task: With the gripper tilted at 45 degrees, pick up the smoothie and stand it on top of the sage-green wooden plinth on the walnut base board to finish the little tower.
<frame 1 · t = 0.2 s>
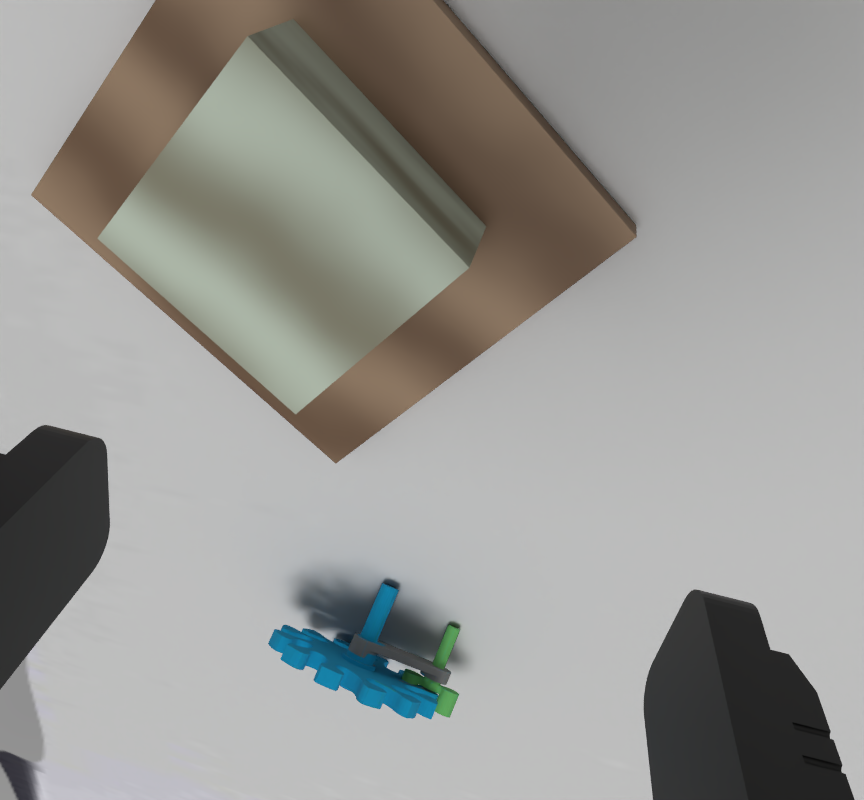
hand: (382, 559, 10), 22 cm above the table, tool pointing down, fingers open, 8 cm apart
blue knobby piece: (382, 617, 45), on the table
plinth: (321, 204, 31), on the table
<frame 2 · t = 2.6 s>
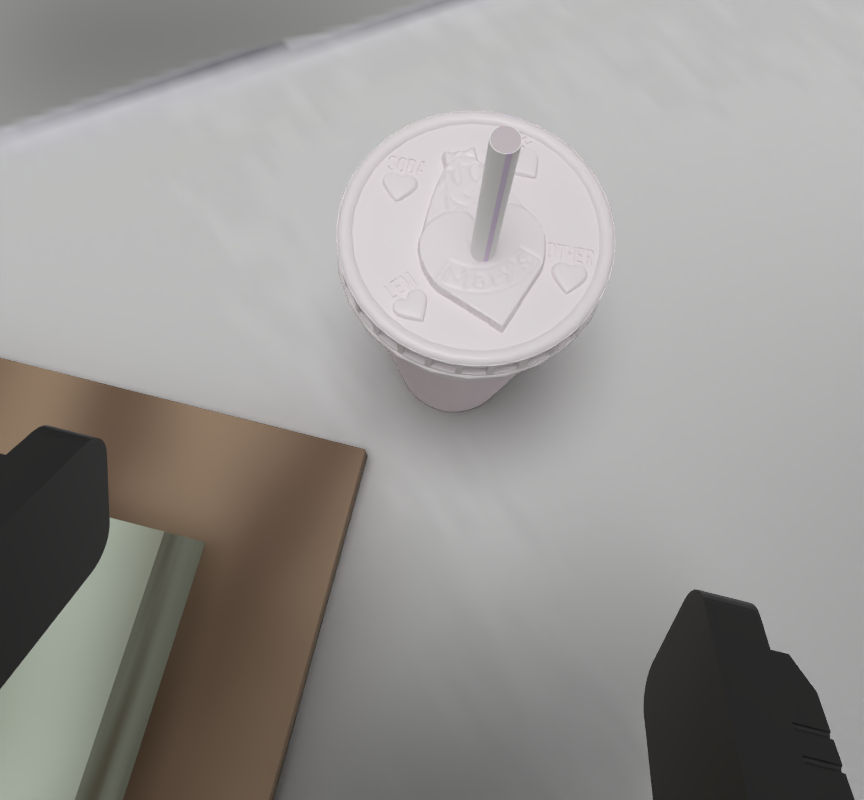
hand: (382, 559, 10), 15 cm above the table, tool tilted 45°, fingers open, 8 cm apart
smoothie: (453, 361, 26), on the table
plinth: (9, 663, 23), on the table
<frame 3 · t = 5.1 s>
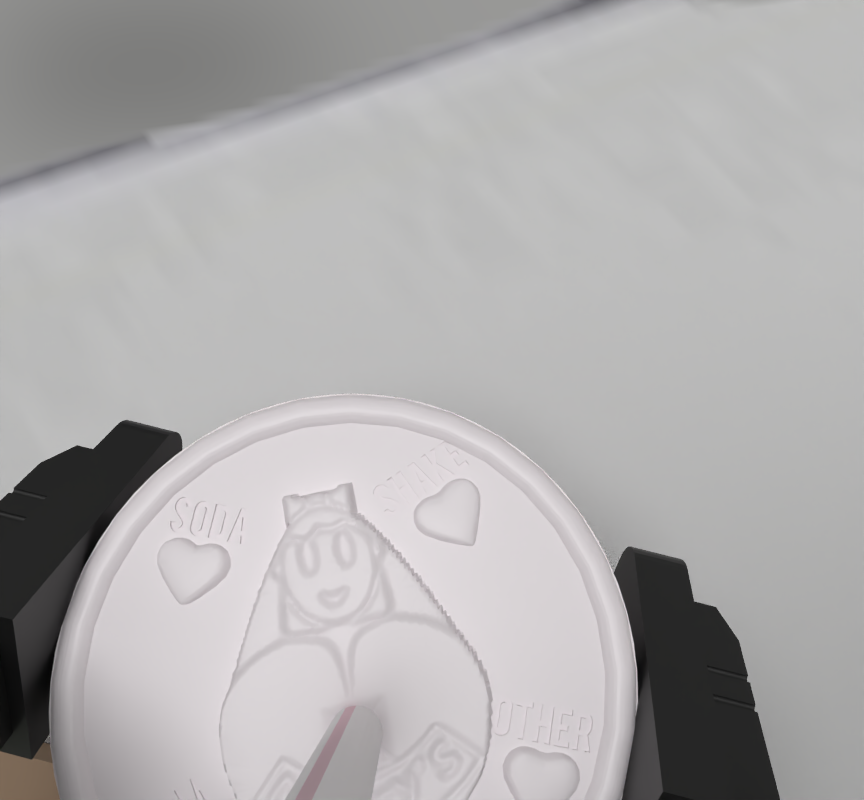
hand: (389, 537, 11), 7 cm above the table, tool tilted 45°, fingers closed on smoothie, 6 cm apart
smoothie: (380, 631, 18), on the table, touching gripper
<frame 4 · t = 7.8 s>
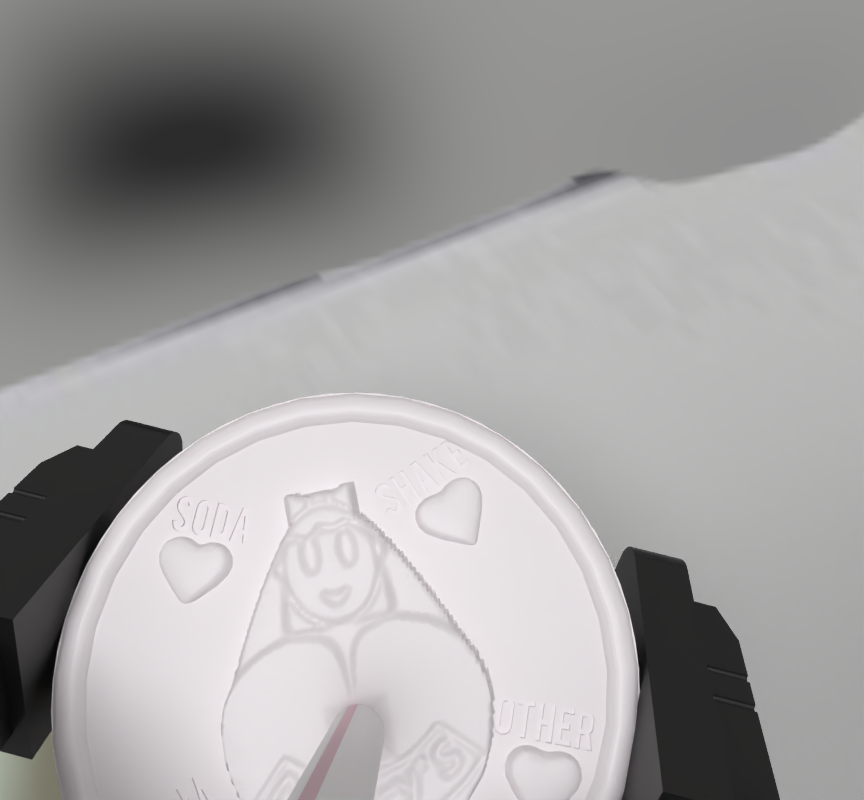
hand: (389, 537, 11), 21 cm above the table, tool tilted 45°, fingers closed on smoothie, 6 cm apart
smoothie: (381, 630, 18), point 14 cm above the table, touching gripper
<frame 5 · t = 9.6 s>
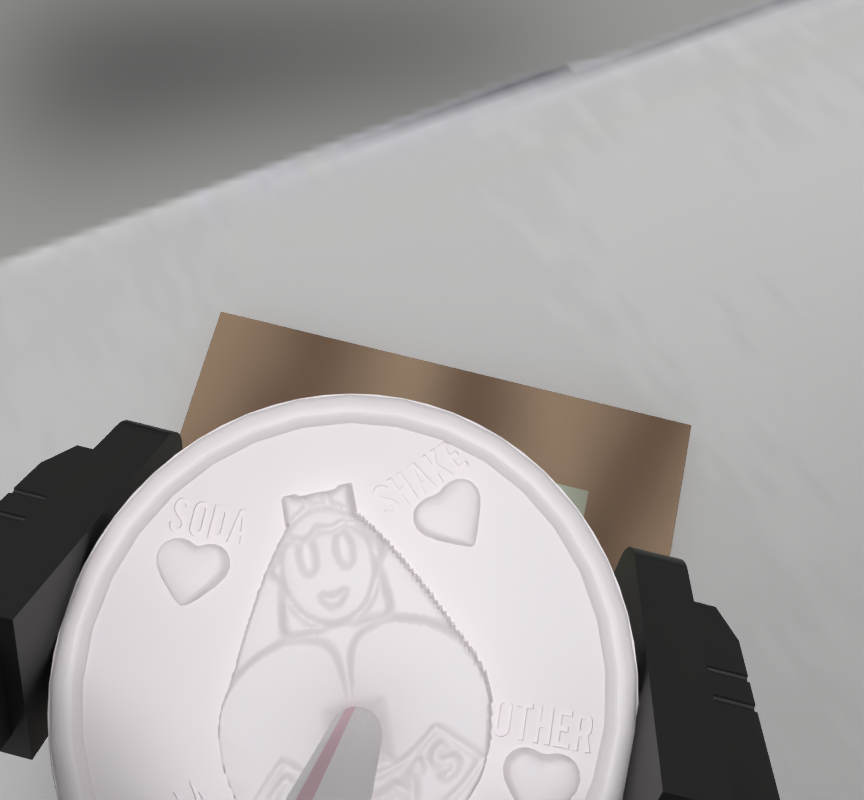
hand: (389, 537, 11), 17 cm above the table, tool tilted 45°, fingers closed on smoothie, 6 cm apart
smoothie: (380, 631, 18), point 10 cm above the table, touching gripper
plinth: (393, 610, 27), on the table
when the fingers open (14 cm above the table, at t = 10.7 s): smoothie drops 1 cm, resting on plinth.
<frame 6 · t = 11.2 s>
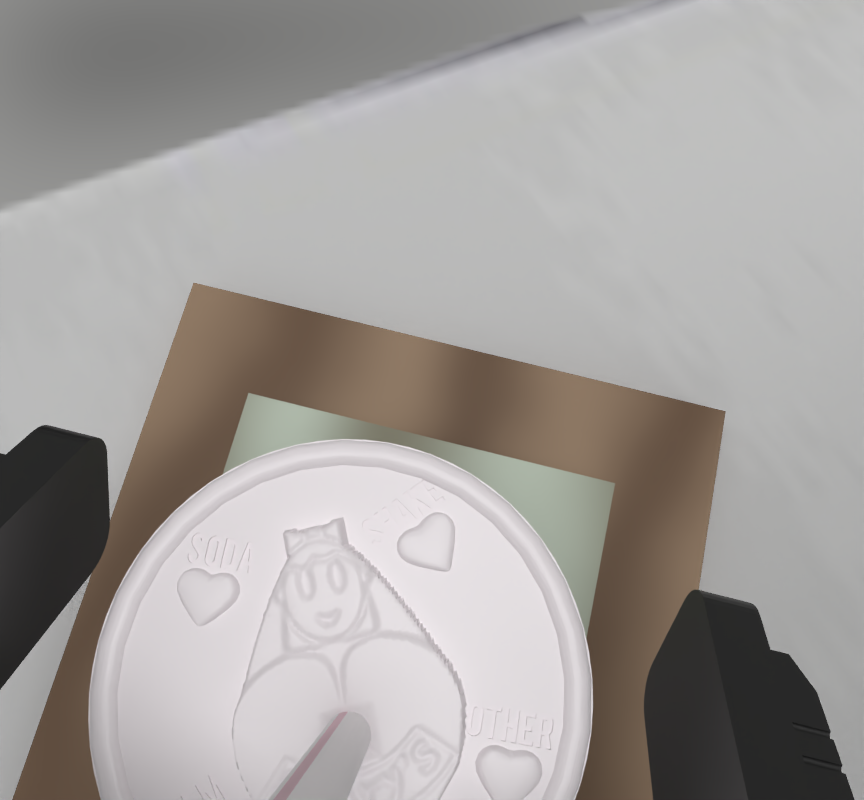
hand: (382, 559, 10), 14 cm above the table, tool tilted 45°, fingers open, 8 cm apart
smoothie: (386, 638, 19), point 5 cm above the table, touching plinth
plinth: (388, 621, 24), on the table
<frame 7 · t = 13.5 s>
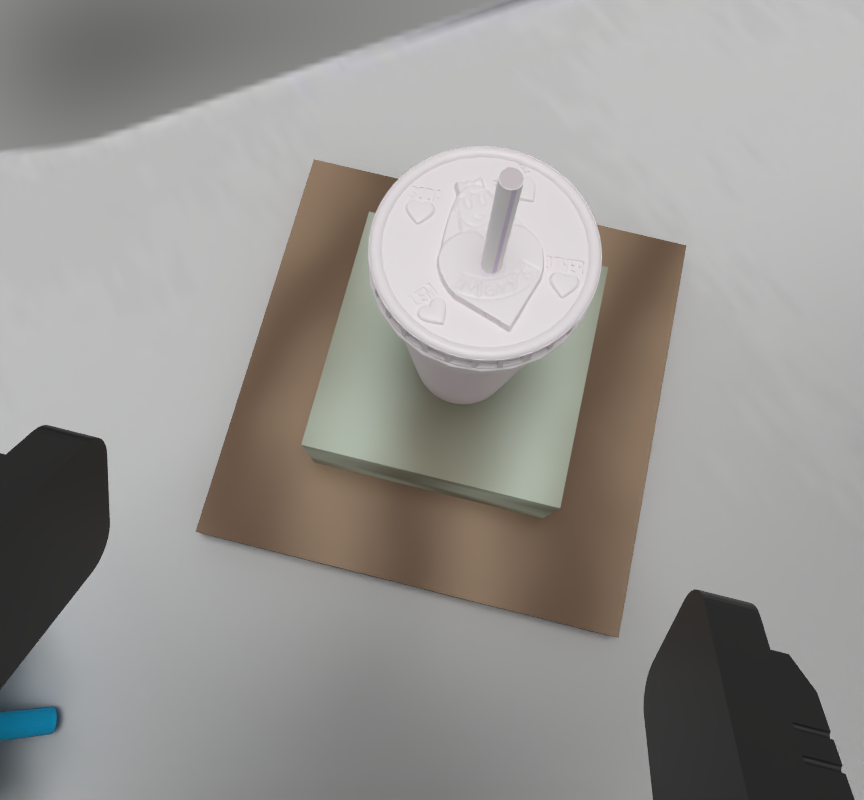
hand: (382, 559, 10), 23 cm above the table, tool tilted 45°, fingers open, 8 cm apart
smoothie: (462, 360, 30), point 5 cm above the table, touching plinth
plinth: (453, 387, 35), on the table
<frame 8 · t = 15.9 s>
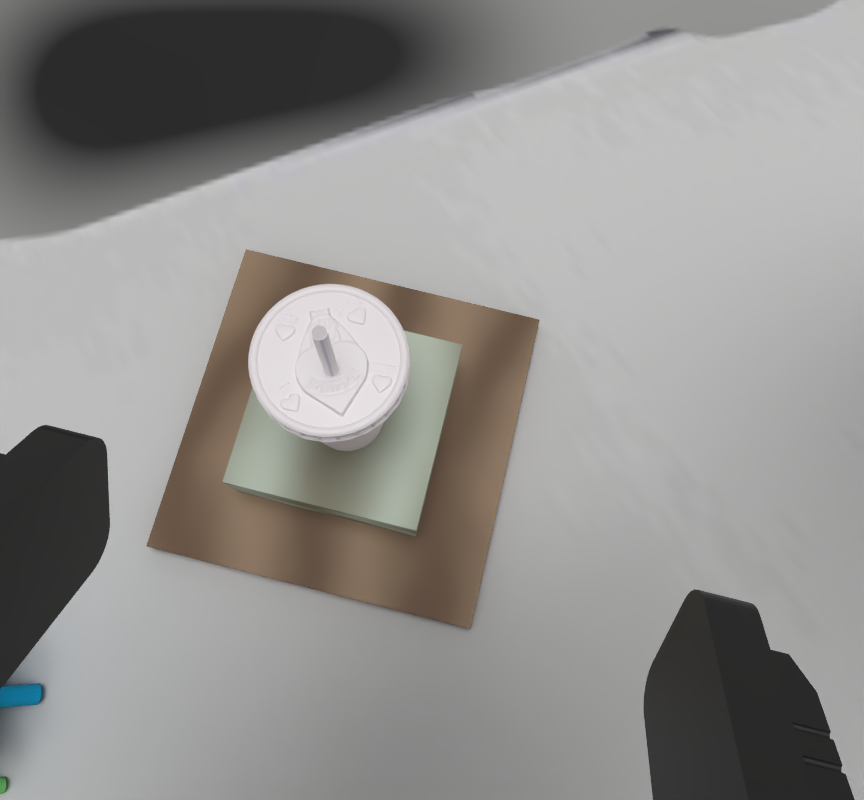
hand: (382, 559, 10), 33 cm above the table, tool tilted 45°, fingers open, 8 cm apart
smoothie: (347, 416, 39), point 5 cm above the table, touching plinth
plinth: (353, 432, 44), on the table
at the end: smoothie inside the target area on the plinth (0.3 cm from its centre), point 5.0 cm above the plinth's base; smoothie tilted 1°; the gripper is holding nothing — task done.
